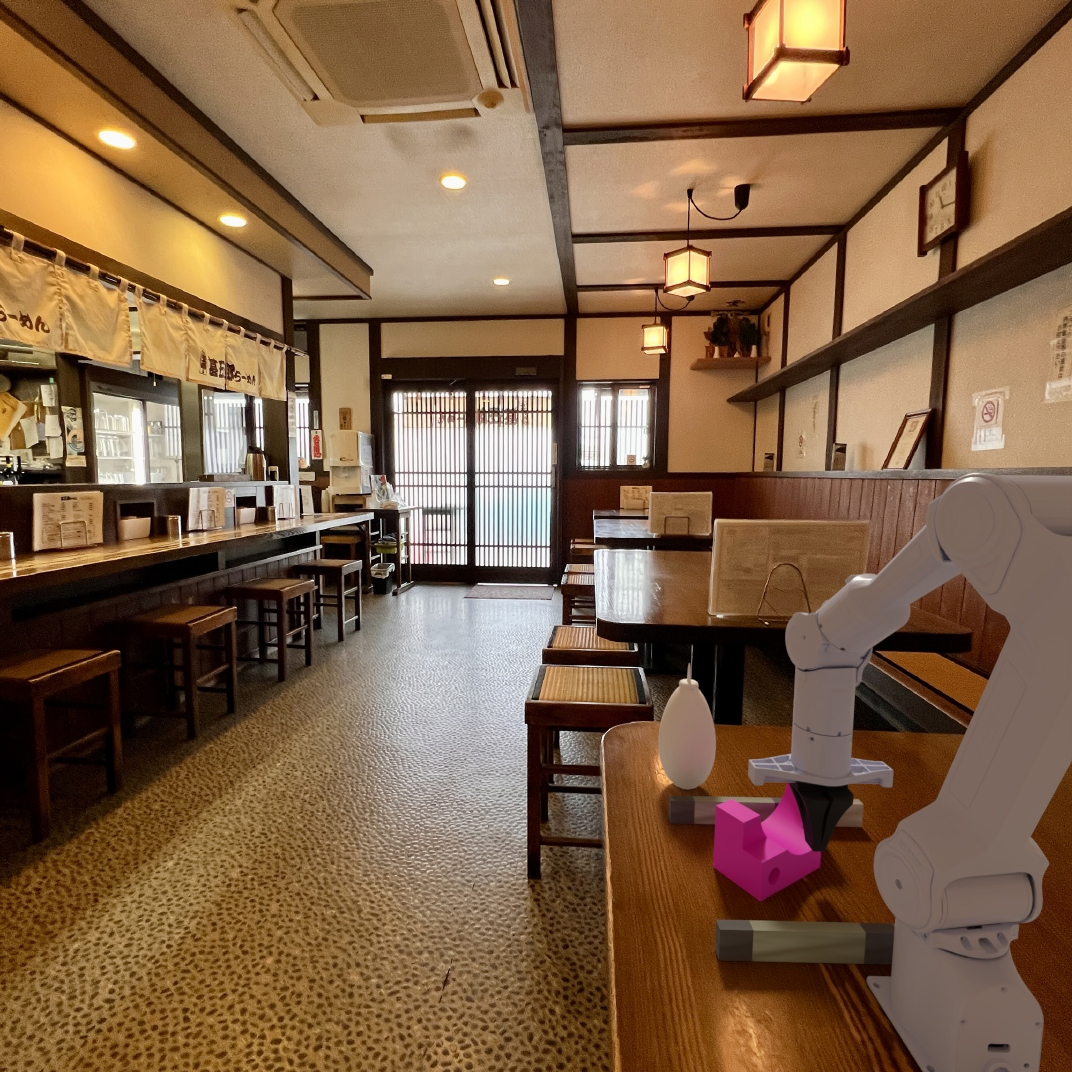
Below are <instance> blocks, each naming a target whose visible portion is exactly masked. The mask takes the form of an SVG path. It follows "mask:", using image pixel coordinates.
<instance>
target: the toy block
mask: <svg viewBox="0 0 1072 1072" xmlns="http://www.w3.org/2000/svg"><path fill="white" fill-rule="evenodd" d="M781 798H782V799H781V801H780V803H779V804H778V806H777V808H776V809H775V810H774V812H773V813H772V814H771V815H770V816H769V817H768V818H767V819H766V820H764V821H763V822H761V820H760V815H759V814H757V813H756V812H754V811H752V810H750V809H749V808H747V807H745V806H744V805H742V804H740V803H738V802H737V801H735V800H733V799H730V800H728V801H726V802H723V803H721V804H718V805H716V814H715V824H714V840H713V841H714V842H713V843H714V845H713V865H712V867H713V868H714V869H715V870H716V871H718V872H719V873H721V874H722V875H723V876H725V877H726V878H728V879H729V880H730V881H732V882H733V883H735V884H736V885H737V886H738V887H740V888H742V889H743V890H744V891H745V892H747V893H748V894H750V895H751V896H752V897H754V898H755V899H756V900H758V901H759V902H763V901H764V900H766V899H767V897H768V898H769V897H771V896H773V895H775V894H776V893H778V892H780V891H782V890H783V889H785V888H786V887H788V886H790V885H792V884H794V883H795V882H797V881H799V880H801V879H802V878H804V877H806V876H808V875H809V874H810V873H812V872H815V871H816V870H818V869H820V868H821V861H822V860H821V859H822V852H815V851H812V849H811V848H810V847H809V845H808V844H807V842H806V841H805V835H804V829H803V824H802V819H801V815H800V812H799V808H798V805H797V803H796V800H795V797H794V795H793V792H792V790H791V788H790V786H789V784H788V783H786V786H785V790H784V792H783V794H782V797H781ZM777 891H778V892H777ZM775 892H776V893H775ZM774 893H775V894H774ZM772 894H773V895H772ZM770 895H771V896H770Z"/></svg>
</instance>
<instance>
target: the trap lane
mask: <svg viewBox="0 0 1072 1072" xmlns="http://www.w3.org/2000/svg"><path fill="white" fill-rule="evenodd" d="M730 799H733V800H735V801H737V802H738V803H740V804H742V805H744V806H745V807H747V808H749V809H750V810H752V811H754V812H756V813H757V814H759V815H760V820H761V822H763V821H764V820H766V819H767V818H768V817H769V816H770V815H771V814H772V813H773V812H774V810H775V809H776V808H777V806H778V804H779V803H780V801H781V799H782V797H759V796H757V797H754V796H753V797H751V796H750V797H749V796H711V795H710V796H704V795H703V796H702V795H699V796H698V795H669V796H668V816H667V817H668V821H669V824H674V825H675V824H680V825H681V824H683V825H684V824H685V825H687V824H688V825H690V824H691V825H715V814H716V805H718V804H721V803H723V802H726V801H728V800H730ZM863 817H864V804H863V801H861V800H860V799H859V798H854V800H853V805H852V806H851V807H850V808H848V810H847V811H846V812H845V813H844V814H843V815H842V817H841V818H840V820H839V821H838V823H837V825H836V827H838V828H839V827H841V828H842V827H843V828H863V820H864V819H863ZM836 827H835V828H836ZM894 930H895V923H886V922H885V923H881V922H879V923H878V922H841V921H840V922H837V921H834V922H833V921H800V920H799V921H795V920H794V921H791V920H752V919H749V920H748V919H745V920H744V919H716V920H715V939H714V940H715V943H714V950H715V953H716V956H717V959H718V961H726V962H727V961H729V962H730V961H731V962H732V961H734V962H768V963H769V962H772V963H774V962H775V963H808V964H809V963H813V964H814V963H815V964H853V965H857V964H858V965H859V964H862V965H891V966H892V958H893V944H894Z"/></svg>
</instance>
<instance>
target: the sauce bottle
mask: <svg viewBox="0 0 1072 1072" xmlns="http://www.w3.org/2000/svg"><path fill="white" fill-rule="evenodd" d="M691 668H692V667H691V663H690V662H689V663H688V666H687V675H686V677H687V678H683V679H680V680H679V681H678V685H679V686H678V687H677V688H676V689H675V690H674V691H673V692H672V694H671V695H670V697H669V699H668V701H667V702H666V706H665V708H664V710H663V713H662V716H661V720H660V724H659V731H658V739H657V740H658V743H657V745H658V754H659V755H658V756H659V760H660V763H661V767H662V769H663V771H664V773H665V775H666V777H667V778H668V779H669V781H671V782H672V783H673V785H674V786H676V787H677V788H680V789H682V790H692V789H696V788H698V786H701V785H703V784H704V783H705V782H706V780H707V779H708V777H709V776H710V774H711V771H712V770H713V767H714V763H715V758H716V751H717V750H716V748H717V739H716V738H717V737H716V729H715V723H714V719H713V716H712V713H711V710H710V707H709V704H708V702H707V699H706V697H705V696H704V694H703V693H702V691H701V689H699V683H698V681H696V680H695V679H691V678H692V677H691V675H692V670H691Z"/></svg>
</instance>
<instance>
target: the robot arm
mask: <svg viewBox="0 0 1072 1072" xmlns="http://www.w3.org/2000/svg"><path fill="white" fill-rule="evenodd" d="M941 494H942V495H940V496H938V497H937V498H935V499H933V500H931V501H930V502H929V503H928V504H927V509H926V517H925V522H926V523H925V524H924V526H923V527H922V528H920V530H919V531H918V532H917V533H915V535H914V536H913V537H912V538H911V539H910V540H909V541H908V542H907V543H906V544H905V546H903V547H902V548H901V549H900V551H898V552H897V554H896V555H895V556H893V558H892V559H891V560H890V561H888V563H887V564H886V565H885V566H884V567H883V568H882V569H881V570H880V571H879V572H878V573H877V574H876V573H862V574H850V575H849V576H848V577H847V578H846V579H845V580H844V582H845V585H844V586H843V587H842V588H840V589H839V590H838V591H837V592H836V593H835V594H834V595H833V596H832V597H831V598H830V599H826V600H824V602H823V603H822V604H821V607H819V608H818V609H817V610H816V611H815V612H809V613H808V612H803V611H802V612H795V613H793V614H792V616H791V618H790V619H789V620H788V623H787V625H786V628H785V634H784V635H785V637H784V638H785V640H784V641H785V647H786V648H785V649H786V651H787V654H788V657H789V658H790V661H791V662H792V664H793V665H794V666H795V670H794V671H795V672H794V673H795V674H794V688H793V689H794V691H793V693H794V694H793V711H792V729H791V731H792V732H791V748H790V749H791V751H790V753H787V754H782V755H777V756H771V757H765V758H758V759H757V758H756V759H748V766H747V767H748V769H747V772H748V773H747V777H748V778H749V779H750V782H751V783H752V784H753V785H754V786H763V785H765V783H783V784H784V783H786V784H787V783H788V784H789V786H790V788H791V790H792V792H793V795H794V797H795V800H796V803H797V805H798V808H799V812H800V815H801V819H802V824H803V829H804V835H805V841H806V842H807V844H808V845H809V847H810V848H811V849H812V851H815V852H821V853H822V852H826V851H827V848H828V846H829V842H830V840H831V837H832V835H833V832H834V830H835V829H836V825H837V823H838V821H839V820H840V818H841V817H842V815H843V814H844V813H845V812H846V811H847V810H848V808H850V807H851V806H852V805H853V800H854V799H855V798H854V793H853V792H852V791H851V790H850V788H848V787H849V785H851V784H852V785H853V784H854V785H858V784H859V785H861V784H863V785H864V784H865V785H870V784H871V785H880V786H881V787H882V788H893V782H894V769H892V768H891V767H890V766H889V765H887V764H886V763H885V762H884V761H880V760H876V761H875V760H869V759H867V760H866V759H861V758H855V757H852V750H853V749H852V746H853V733H854V732H853V731H854V730H853V729H854V717H855V716H854V713H855V712H854V711H855V701H856V700H855V696H856V687H858V686H860V683H862V682H863V680H862V679H863V672H864V670H865V667H866V666H867V665H868V664H869V662H870V660H871V658H872V654H873V650H874V649H873V647H874V646H876V645H877V644H880V642H882V641H883V640H885V639H886V638H887V637H889V636H891V635H892V634H894V633H895V632H897V631H899V629H901V628H903V626H905V625H906V624H907V622H909V620H910V617H911V604H913V603H914V602H915V601H918V600H919V599H920V598H923V597H924V596H926V595H927V594H929V593H931V592H932V591H934V590H936V589H937V588H939V587H941V586H942V585H944V584H946V583H947V582H949V581H951V580H952V579H954V578H955V577H957V576H959V575H960V574H962V575H963V576H964V578H965V579H966V580H967V581H968V582H969V583H970V585H971V586H972V587H973V589H974V590H975V591H976V592H977V593H978V594H979V596H980V597H981V598H982V599H983V601H984V602H985V603H986V604H987V606H988V607H989V608H990V609H991V610H992V611H995V612H997V613H998V614H1000V615H1002V616H1004V617H1005V619H1006V620H1007V622H1008V624H1009V626H1010V627H1009V628H1010V629H1009V633H1008V634H1007V637H1006V640H1005V642H1004V644H1003V647H1002V648H1001V651H1000V653H999V655H998V658H997V660H996V663H995V665H994V666H993V669H992V671H991V673H990V676H989V678H988V681H987V683H986V684H985V688H984V690H983V692H982V694H981V696H980V699H979V701H978V704H977V706H976V709H975V711H974V713H973V716H972V717H971V720H970V722H969V724H968V727H967V729H966V731H965V734H964V735H963V737H962V740H961V742H960V745H959V747H958V749H957V751H956V754H955V756H954V759H953V761H952V763H951V765H950V767H949V770H948V772H947V775H946V776H945V779H944V781H943V783H942V786H941V787H940V790H939V793H938V795H937V796H936V799H935V800H934V801H933V802H932V803H930V804H928V805H926V806H925V807H923V808H921V809H919V810H918V811H915V812H914V813H912V814H910V815H908V816H907V817H905V818H903V819H902V820H901V821H899V822H898V823H897V827H896V829H895V832H893V834H892V835H891V836H889V837H887V838H884V839H881V841H879V843H878V844H877V845H876V848H875V852H874V857H873V873H874V874H873V875H874V878H875V879H874V880H875V883H876V887H877V889H878V891H879V894H880V896H881V898H882V900H883V902H884V903H885V905H886V906H887V908H888V910H889V911H890V912H891V913H892V914H893V916H894V920H895V921H894V924H895V930H894V944H893V958H892V965H891V972H890V976H886V975H885V976H883V975H879V976H878V975H868V976H867V977H866V984H867V986H868V987H869V989H870V991H871V992H872V993H873V995H874V997H875V998H876V1000H877V1002H878V1003H879V1004H880V1006H881V1009H882V1010H883V1012H884V1013H885V1014H886V1017H888V1019H889V1021H890V1022H891V1024H892V1026H893V1028H895V1031H896V1032H897V1033H898V1035H899V1036H900V1038H901V1040H902V1042H903V1043H904V1045H905V1046H906V1047H907V1049H908V1051H909V1052H910V1054H911V1056H912V1057H913V1058H914V1060H915V1062H916V1063H917V1066H918V1067H919V1068H920V1070H921V1071H922V1072H1040V1063H1041V1054H1042V1044H1043V1036H1044V1035H1043V1034H1044V1023H1045V1022H1044V1021H1045V1020H1044V1014H1043V1010H1042V1008H1041V1005H1040V1003H1039V1002H1038V1000H1037V998H1036V997H1035V996H1034V995H1033V993H1032V992H1031V991H1030V989H1029V987H1027V985H1026V984H1025V982H1024V980H1023V979H1022V977H1021V975H1020V974H1019V972H1018V970H1017V967H1016V965H1015V962H1014V960H1013V957H1012V953H1011V952H1012V951H1011V949H1010V944H1011V942H1012V941H1014V940H1018V939H1019V930H1020V929H1019V928H1020V924H1026V923H1027V924H1028V923H1030V922H1033V921H1035V920H1036V919H1037V918H1038V917H1039V915H1040V914H1041V912H1042V909H1043V904H1044V899H1043V887H1042V886H1043V878H1044V875H1045V873H1046V871H1047V869H1048V867H1049V865H1050V862H1049V860H1048V859H1047V857H1046V855H1045V854H1044V852H1043V851H1042V849H1041V848H1040V847H1039V845H1038V843H1037V842H1036V841H1035V840H1034V839H1033V838H1032V837H1031V836H1032V835H1033V833H1034V831H1035V829H1036V827H1037V826H1038V825H1039V822H1040V820H1041V819H1042V816H1043V814H1044V812H1045V811H1046V809H1047V807H1048V806H1049V803H1050V802H1051V800H1052V799H1053V796H1054V795H1055V793H1056V791H1057V789H1058V787H1059V785H1060V783H1061V782H1062V780H1063V778H1064V776H1065V774H1066V772H1067V770H1068V768H1069V767H1070V765H1071V763H1072V475H1038V474H1037V475H1022V474H1021V475H1017V474H1014V475H1012V474H1011V475H1010V474H1007V475H1006V474H1004V475H1002V474H995V473H989V472H971V473H967V474H965V475H962V476H960V477H958V478H957V479H954V481H953V482H951V483H950V484H949V485H948V487H946V489H945V490H944V491H943V493H941Z"/></svg>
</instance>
